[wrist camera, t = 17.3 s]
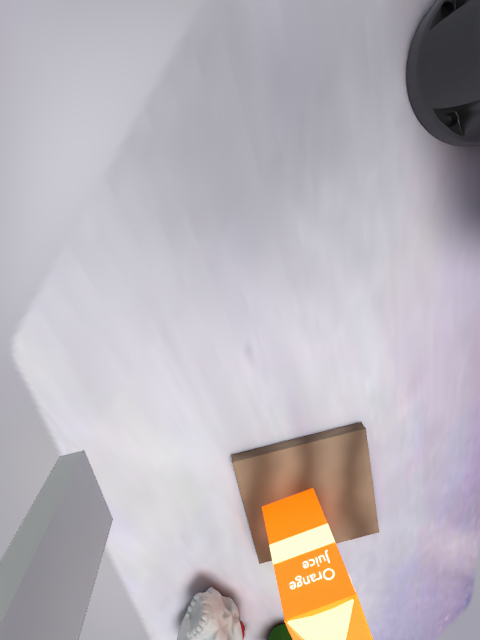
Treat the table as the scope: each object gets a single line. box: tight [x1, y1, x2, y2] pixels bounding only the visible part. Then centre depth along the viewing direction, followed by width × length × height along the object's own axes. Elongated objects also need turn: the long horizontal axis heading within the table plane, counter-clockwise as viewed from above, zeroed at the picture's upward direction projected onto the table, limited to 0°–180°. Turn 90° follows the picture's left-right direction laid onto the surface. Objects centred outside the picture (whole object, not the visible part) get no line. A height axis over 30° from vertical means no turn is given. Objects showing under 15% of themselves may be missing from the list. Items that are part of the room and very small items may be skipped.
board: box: [231, 422, 379, 564], centre depth 51 cm, size 18×18×2 cm
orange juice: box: [262, 488, 373, 640], centre depth 42 cm, size 8×9×20 cm
